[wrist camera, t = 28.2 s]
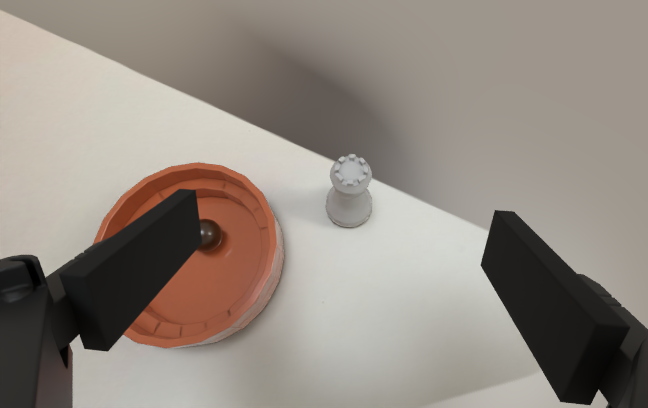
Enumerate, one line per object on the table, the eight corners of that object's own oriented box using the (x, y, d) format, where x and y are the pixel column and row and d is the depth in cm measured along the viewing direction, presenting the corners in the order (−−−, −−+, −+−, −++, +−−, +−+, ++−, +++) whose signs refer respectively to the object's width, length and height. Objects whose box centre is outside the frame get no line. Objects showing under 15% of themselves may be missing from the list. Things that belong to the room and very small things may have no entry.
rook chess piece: (356, 179, 34) (361, 134, 26) (380, 215, 32) (392, 178, 25) (317, 198, 33) (311, 158, 26) (339, 237, 31) (339, 206, 24)
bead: (222, 256, 31) (231, 224, 31) (207, 255, 28) (218, 221, 28) (193, 248, 31) (202, 217, 32) (175, 246, 28) (186, 213, 29)
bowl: (313, 222, 32) (309, 205, 28) (226, 380, 27) (206, 388, 23) (186, 162, 35) (165, 138, 31) (89, 294, 30) (49, 287, 26)
